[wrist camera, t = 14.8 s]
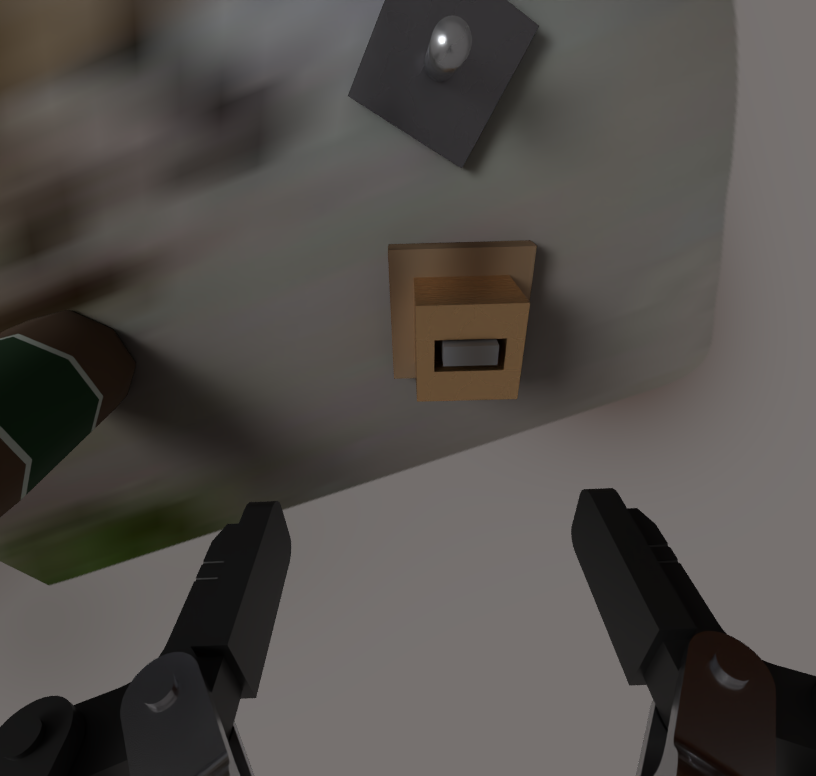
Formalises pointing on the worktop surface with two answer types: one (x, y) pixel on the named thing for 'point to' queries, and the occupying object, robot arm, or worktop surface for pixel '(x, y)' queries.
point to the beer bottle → (54, 393)
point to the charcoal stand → (441, 68)
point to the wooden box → (450, 263)
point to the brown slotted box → (468, 335)
